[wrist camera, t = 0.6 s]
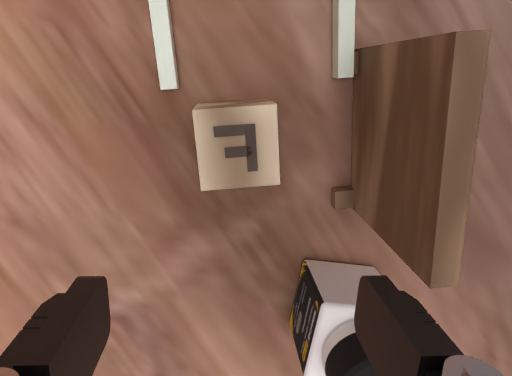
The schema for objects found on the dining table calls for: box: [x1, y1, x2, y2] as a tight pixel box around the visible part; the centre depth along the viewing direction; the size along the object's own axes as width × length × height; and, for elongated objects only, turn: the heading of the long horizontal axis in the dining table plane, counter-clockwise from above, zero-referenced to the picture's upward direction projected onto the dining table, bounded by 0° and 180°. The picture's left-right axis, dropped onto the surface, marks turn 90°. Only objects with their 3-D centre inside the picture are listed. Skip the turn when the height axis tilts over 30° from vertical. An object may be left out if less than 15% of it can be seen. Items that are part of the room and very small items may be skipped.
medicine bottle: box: [290, 260, 380, 376], centre depth 29 cm, size 7×7×12 cm
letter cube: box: [192, 99, 280, 191], centre depth 27 cm, size 6×6×6 cm
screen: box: [332, 30, 491, 289], centre depth 24 cm, size 5×13×13 cm, turn 3°
